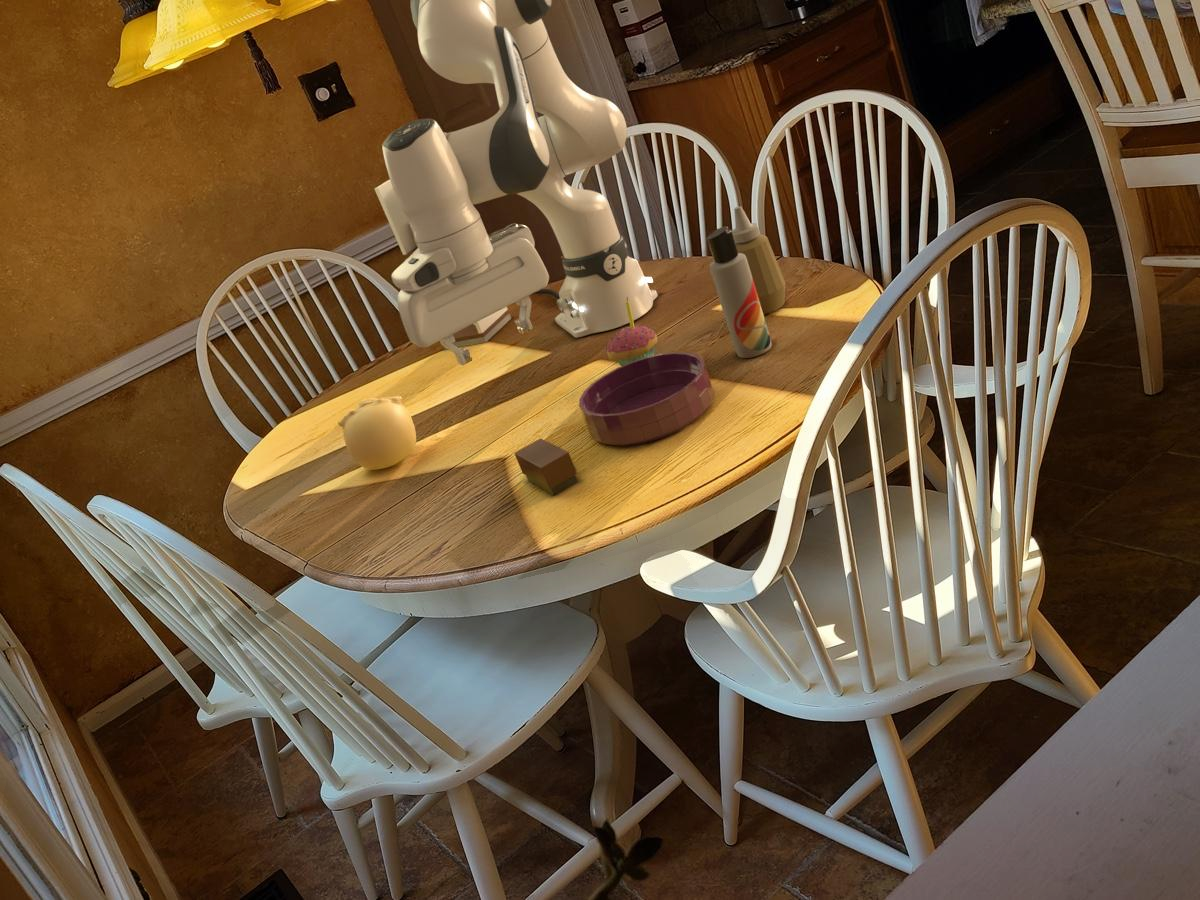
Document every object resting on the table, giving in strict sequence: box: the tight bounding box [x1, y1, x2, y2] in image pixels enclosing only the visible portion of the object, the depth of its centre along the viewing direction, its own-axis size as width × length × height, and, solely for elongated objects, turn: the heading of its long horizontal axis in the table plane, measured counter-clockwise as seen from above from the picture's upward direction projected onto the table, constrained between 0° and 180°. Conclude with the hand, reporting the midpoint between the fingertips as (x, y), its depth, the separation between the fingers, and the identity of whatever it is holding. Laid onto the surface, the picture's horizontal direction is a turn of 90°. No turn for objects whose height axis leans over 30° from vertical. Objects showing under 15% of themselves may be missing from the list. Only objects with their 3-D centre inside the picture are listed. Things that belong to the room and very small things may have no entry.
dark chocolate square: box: [513, 437, 579, 496], centre depth 155 cm, size 9×4×5 cm, turn 29°
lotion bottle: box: [706, 225, 772, 359], centre depth 169 cm, size 6×6×20 cm
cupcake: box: [605, 297, 659, 367], centre depth 180 cm, size 9×8×12 cm
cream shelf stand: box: [374, 179, 512, 351], centre depth 224 cm, size 11×11×35 cm
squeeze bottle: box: [731, 205, 786, 315], centre depth 183 cm, size 8×8×18 cm
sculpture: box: [337, 395, 417, 471], centre depth 182 cm, size 11×12×11 cm
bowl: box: [578, 351, 715, 447], centre depth 163 cm, size 19×19×6 cm
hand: (496, 346), depth 147 cm, fingers open, 8 cm apart
